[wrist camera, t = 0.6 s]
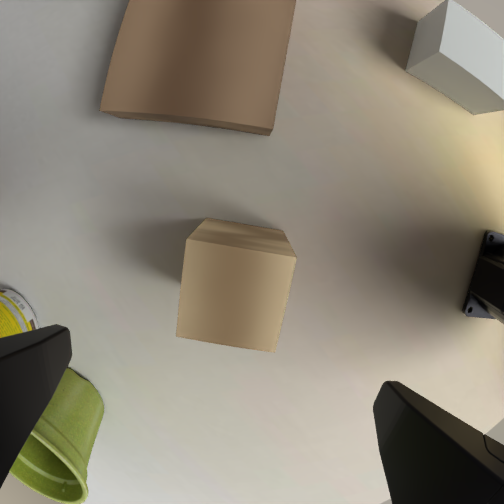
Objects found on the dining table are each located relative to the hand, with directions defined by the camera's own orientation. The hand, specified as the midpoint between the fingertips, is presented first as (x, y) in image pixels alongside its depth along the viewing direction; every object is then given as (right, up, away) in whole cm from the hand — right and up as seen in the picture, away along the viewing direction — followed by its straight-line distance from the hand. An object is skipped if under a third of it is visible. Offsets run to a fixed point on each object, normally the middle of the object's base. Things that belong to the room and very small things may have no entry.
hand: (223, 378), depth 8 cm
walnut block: (-2, +15, +8) cm, 17 cm away
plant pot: (-14, -9, +14) cm, 22 cm away
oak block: (0, +3, +11) cm, 12 cm away
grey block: (+11, +16, +6) cm, 21 cm away
